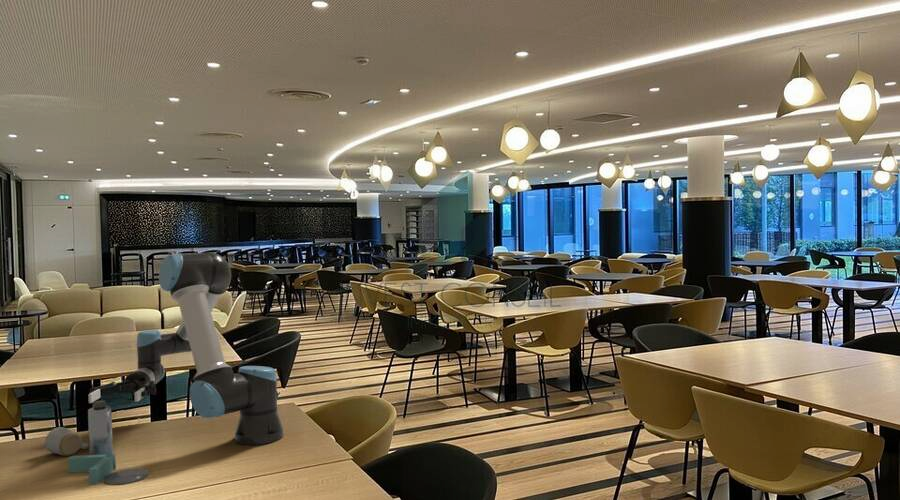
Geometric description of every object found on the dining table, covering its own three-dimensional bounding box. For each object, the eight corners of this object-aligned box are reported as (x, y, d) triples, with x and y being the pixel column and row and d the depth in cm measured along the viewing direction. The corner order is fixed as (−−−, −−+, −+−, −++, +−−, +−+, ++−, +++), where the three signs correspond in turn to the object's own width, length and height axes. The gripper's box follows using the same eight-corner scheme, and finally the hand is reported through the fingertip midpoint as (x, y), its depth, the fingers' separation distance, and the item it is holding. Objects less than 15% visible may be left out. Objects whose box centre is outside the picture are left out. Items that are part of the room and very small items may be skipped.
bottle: (116, 458, 195) (114, 398, 194) (107, 465, 189) (105, 404, 189) (95, 459, 194) (93, 399, 194) (86, 467, 188) (83, 405, 188)
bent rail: (117, 467, 188) (116, 453, 188) (98, 483, 175) (97, 468, 175) (72, 469, 187) (71, 455, 186) (50, 486, 174) (49, 471, 174)
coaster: (154, 468, 186) (154, 467, 186) (139, 483, 175) (139, 482, 175) (114, 470, 185) (113, 469, 185) (96, 485, 174) (96, 484, 174)
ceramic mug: (60, 459, 195) (59, 434, 195) (44, 455, 199) (44, 430, 199) (94, 449, 205) (93, 425, 204) (78, 445, 209) (78, 421, 208)
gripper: (177, 391, 224) (155, 408, 203) (101, 393, 221) (70, 411, 200) (176, 369, 223) (154, 384, 202) (100, 371, 221) (70, 387, 200)
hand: (112, 398), depth 201 cm, fingers open, 13 cm apart
